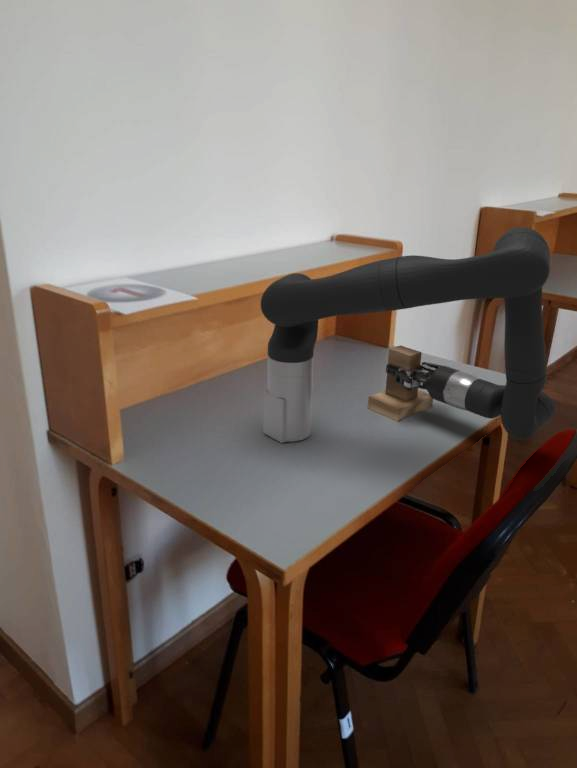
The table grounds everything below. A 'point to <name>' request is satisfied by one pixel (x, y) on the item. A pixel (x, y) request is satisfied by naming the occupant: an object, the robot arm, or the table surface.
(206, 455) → the table surface
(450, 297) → the robot arm
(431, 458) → the table surface
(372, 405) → the flat wooden block
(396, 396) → the tall wooden pillar
